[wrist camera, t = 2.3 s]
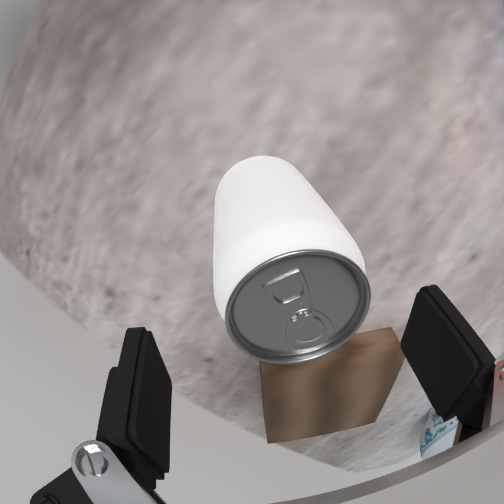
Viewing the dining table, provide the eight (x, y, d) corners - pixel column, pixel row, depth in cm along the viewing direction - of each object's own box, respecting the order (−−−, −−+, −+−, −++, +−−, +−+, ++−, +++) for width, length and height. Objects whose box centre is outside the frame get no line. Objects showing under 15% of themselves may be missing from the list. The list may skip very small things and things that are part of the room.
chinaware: (465, 405, 47) (480, 432, 41) (404, 435, 49) (416, 466, 42) (483, 366, 40) (503, 398, 33) (412, 404, 41) (429, 442, 34)
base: (390, 327, 30) (406, 354, 27) (366, 398, 37) (375, 422, 34) (258, 349, 29) (263, 381, 26) (263, 417, 36) (267, 443, 33)
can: (240, 253, 24) (258, 387, 13) (197, 180, 21) (177, 290, 10) (319, 217, 23) (391, 331, 13) (285, 138, 20) (359, 206, 9)
